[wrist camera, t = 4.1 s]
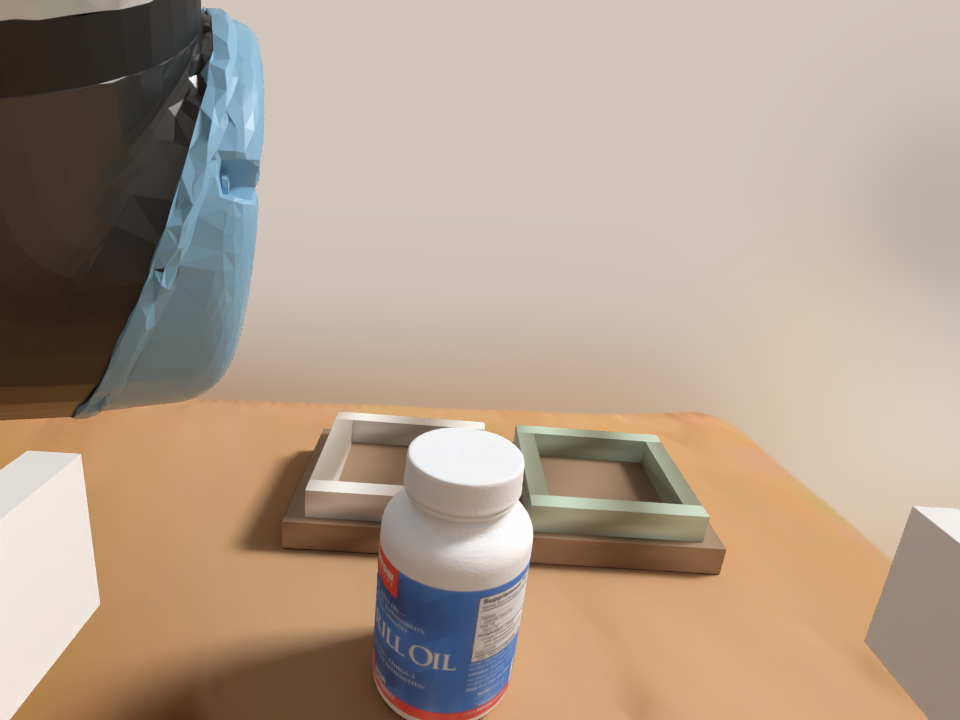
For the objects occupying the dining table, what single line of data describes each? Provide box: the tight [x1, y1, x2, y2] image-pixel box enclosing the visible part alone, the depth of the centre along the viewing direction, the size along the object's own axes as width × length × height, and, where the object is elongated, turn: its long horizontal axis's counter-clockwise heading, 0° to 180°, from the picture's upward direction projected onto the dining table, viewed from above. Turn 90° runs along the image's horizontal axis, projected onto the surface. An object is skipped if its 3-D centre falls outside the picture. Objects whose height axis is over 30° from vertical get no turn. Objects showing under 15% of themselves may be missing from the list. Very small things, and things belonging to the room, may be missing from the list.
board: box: [282, 412, 726, 574], centre depth 35 cm, size 22×10×3 cm, turn 92°
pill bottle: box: [373, 427, 533, 720], centre depth 23 cm, size 6×5×10 cm
